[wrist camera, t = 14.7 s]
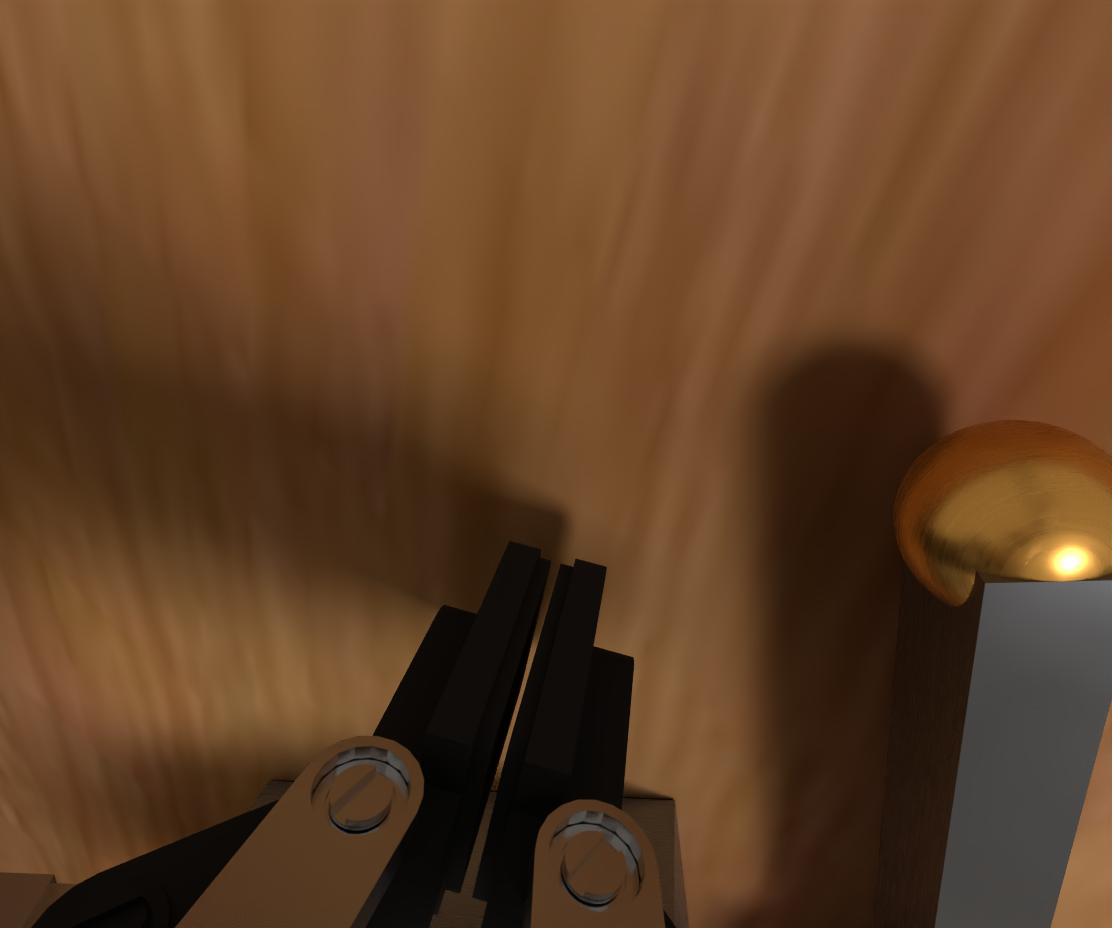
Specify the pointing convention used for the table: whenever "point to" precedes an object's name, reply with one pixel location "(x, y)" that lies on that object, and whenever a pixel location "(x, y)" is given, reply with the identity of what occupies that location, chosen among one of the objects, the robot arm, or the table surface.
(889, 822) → the lever
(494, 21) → the table surface
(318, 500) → the table surface
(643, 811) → the block
